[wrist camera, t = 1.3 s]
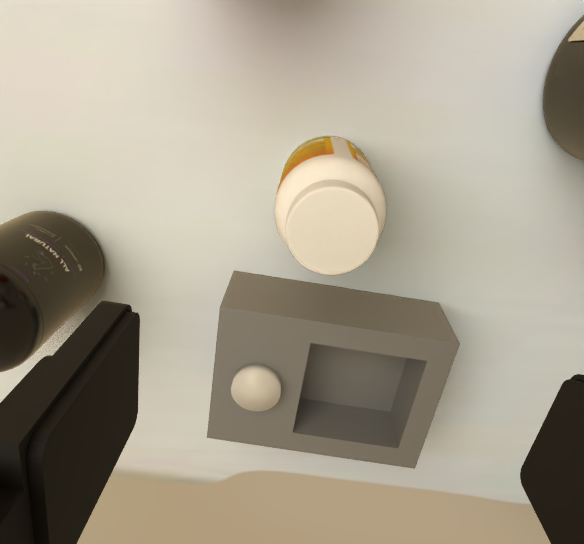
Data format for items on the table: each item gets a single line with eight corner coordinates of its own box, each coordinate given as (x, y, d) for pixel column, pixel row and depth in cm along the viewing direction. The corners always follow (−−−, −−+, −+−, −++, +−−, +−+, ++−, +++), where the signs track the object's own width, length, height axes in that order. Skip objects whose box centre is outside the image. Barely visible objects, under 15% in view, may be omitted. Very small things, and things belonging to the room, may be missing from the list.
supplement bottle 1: (109, 219, 30) (-8, 310, 19) (104, 309, 33) (0, 433, 22) (2, 196, 30) (-179, 275, 19) (7, 289, 32) (-149, 404, 22)
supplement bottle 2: (273, 211, 29) (256, 275, 20) (293, 125, 27) (283, 154, 18) (356, 230, 30) (374, 302, 21) (382, 147, 27) (415, 187, 19)
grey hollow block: (442, 303, 31) (469, 352, 26) (405, 417, 36) (421, 478, 30) (233, 270, 31) (217, 313, 26) (220, 389, 35) (204, 446, 30)
